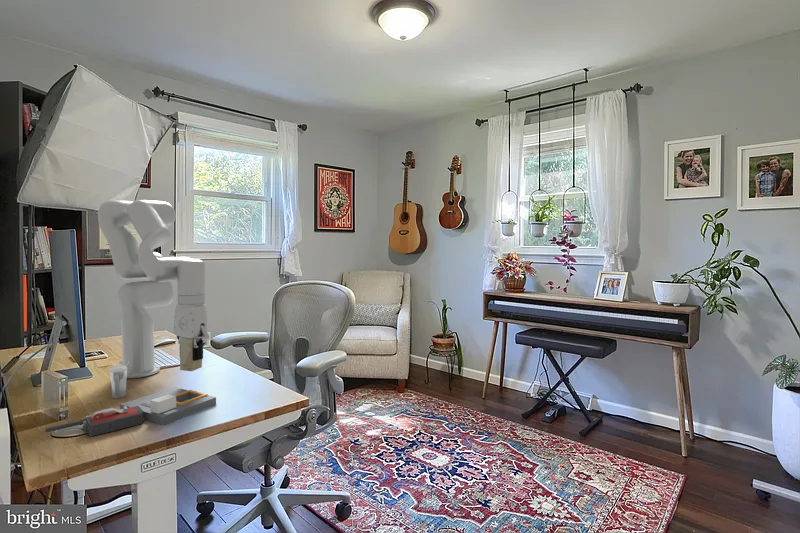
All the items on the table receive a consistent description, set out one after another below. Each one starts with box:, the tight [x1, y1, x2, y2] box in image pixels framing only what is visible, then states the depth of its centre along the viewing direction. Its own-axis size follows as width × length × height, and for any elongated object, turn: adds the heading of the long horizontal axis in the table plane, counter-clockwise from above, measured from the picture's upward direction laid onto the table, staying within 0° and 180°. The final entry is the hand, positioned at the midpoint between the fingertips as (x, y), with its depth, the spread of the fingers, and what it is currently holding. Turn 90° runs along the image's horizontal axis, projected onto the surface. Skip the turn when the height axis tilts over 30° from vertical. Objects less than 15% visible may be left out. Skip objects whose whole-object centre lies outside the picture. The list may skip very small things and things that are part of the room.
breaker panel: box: [119, 386, 217, 426], centre depth 122 cm, size 18×16×2 cm
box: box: [179, 335, 203, 372], centre depth 137 cm, size 5×4×11 cm
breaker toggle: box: [151, 394, 176, 414], centre depth 115 cm, size 3×5×3 cm, turn 152°
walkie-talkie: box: [44, 406, 144, 437], centre depth 108 cm, size 9×4×20 cm
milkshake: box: [108, 361, 129, 399], centre depth 131 cm, size 5×5×10 cm
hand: (191, 357), depth 137 cm, fingers closed on box, 5 cm apart
